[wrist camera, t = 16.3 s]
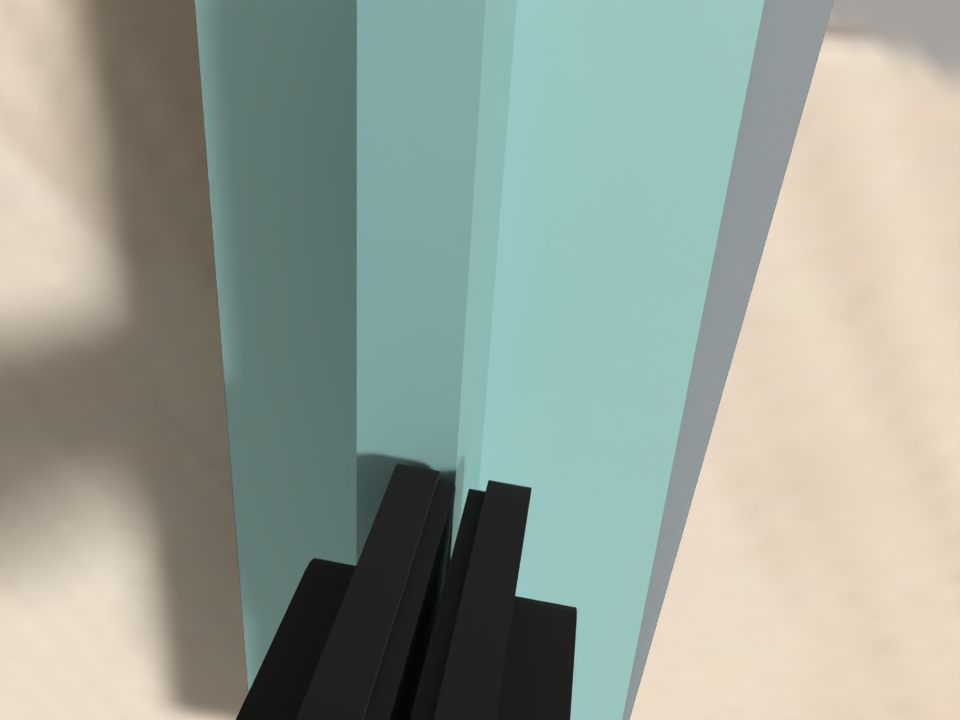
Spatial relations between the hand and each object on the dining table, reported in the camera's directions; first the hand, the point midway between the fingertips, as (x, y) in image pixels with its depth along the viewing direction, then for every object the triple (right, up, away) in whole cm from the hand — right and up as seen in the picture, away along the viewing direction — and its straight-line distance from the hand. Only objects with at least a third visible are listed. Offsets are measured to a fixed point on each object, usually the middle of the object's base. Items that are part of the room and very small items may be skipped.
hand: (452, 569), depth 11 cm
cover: (0, 0, +4) cm, 4 cm away
